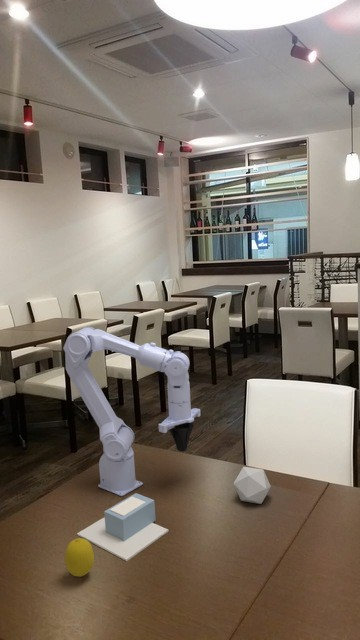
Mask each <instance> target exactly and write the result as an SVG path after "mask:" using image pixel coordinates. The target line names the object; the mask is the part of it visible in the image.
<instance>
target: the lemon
mask: <svg viewBox="0 0 360 640" xmlns="http://www.w3.org/2000/svg"><path fill="white" fill-rule="evenodd" d="M64 560H65V562H64V563H65V567H66V569H67V570H68V572H69V574H71V575H72V576H74V577H80V578H81V577H83V576H85V575H87V574H89V572H90V571H91V570H92V568H93V566H94V562H95V553H94V549H93V546H92V543H91V542H90V541H88V540H86V539H84V538H82V537H77V538H75V539H73V540H71V541H70V542H69V543H68V545H67V547H66V549H65V554H64Z"/></svg>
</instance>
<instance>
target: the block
mask: <svg viewBox="0 0 360 640" xmlns="http://www.w3.org/2000/svg"><path fill="white" fill-rule="evenodd" d="M103 515H104V517H105V528H106V532H107V533H109V534H111V535H113V536H115V537H117V538H119V539H121V540H123V541H126V540H127V539H129V538H130V537H132V536H133V535H135V534H136V533H138V532H139V531H141V530H142V529H144V528H145V527H147V526H148V525H150V524H151V523H154V522H155V521H157V520H156V505H155V500H154V499H152V498H150V497H147V496H144V495H143V494H140V493H133V494H132V495H129V496H128V497H127V498H125V499H123V500H121V501H119V502H117V503H116V504H115V505H113V506H111V507H110V508H107V509H106V510H104V512H103Z"/></svg>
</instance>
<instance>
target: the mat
mask: <svg viewBox="0 0 360 640" xmlns="http://www.w3.org/2000/svg"><path fill="white" fill-rule="evenodd" d="M168 532H170V531H169V529H168V528H165V527H163V526H161V525H159V524H157V523H154V522H153V523H151V524H150V525H148V526H147V527H145V528H144V529H142V530H141V531H139V532H138V533H136V534H135V535H133V536H132V537H130V538H129V539H127V540H126V541H123V540H121V539H119V538H117V537H115V536H113V535H111V534H109V533H107V532H106V528H105V516H104V517H102V518H101V519H99V520H97V521H95V522H94V523H92V524H91V525H89V526H86V528H84V529H82V530H80V531H79V532H77V533H76V535H77V536H78V537H79V538H83V539H85V540H87V541H88V542H89V543H90V544H94V545H95V546H97V547H99V548H101V549H103V550H105V551H106V552H108V553H111V554H112V555H114V556H116V557H117V558H119V559H121V560H124V561H126V562H128V561H130V560H131V559H132V558H135V556H137V555H138V554H139V553H141V552H142V551H143V550H145V549H146V548H147V547H149V546H150V545H152V544H154V542H156V541H157V540H159V539H160V538H162V537H163V536H165V535H166V534H168Z"/></svg>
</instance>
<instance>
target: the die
mask: <svg viewBox="0 0 360 640" xmlns="http://www.w3.org/2000/svg"><path fill="white" fill-rule="evenodd" d="M269 481H270V480H269V479H268V477H267V474H266V471H265V470H264V469H262V468H255V467H248V466H243V467H242V468H241V470H240V472H239V474H238V475H237V477H236V478H235V480H234V482H233V486H234V488H235V490H236V492H237V495H238V497H239V499H240V501H241V502H247V503H252V504H257V505H258V504H260V505H262V503H263V502H264V500H265V498H266V496H267V495H268V493H269V491H270V489H271V487H272V486H271V484H270V482H269Z"/></svg>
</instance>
